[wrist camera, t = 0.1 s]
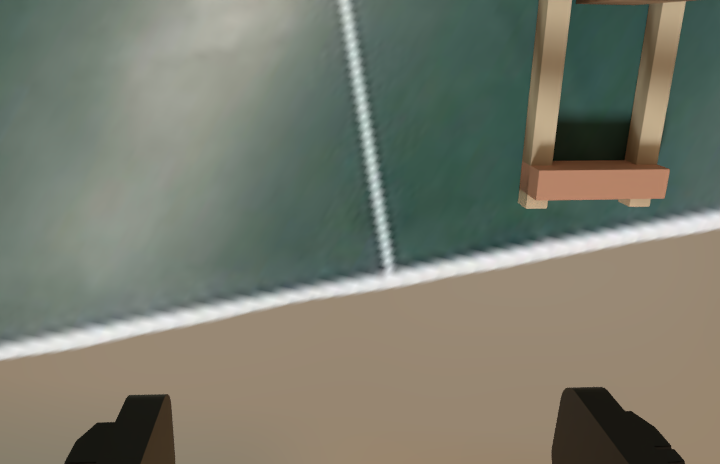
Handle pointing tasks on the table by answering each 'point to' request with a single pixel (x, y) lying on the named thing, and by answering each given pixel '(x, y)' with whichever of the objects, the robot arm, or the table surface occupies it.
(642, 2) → the block
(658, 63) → the frame
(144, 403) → the robot arm
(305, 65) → the table surface
